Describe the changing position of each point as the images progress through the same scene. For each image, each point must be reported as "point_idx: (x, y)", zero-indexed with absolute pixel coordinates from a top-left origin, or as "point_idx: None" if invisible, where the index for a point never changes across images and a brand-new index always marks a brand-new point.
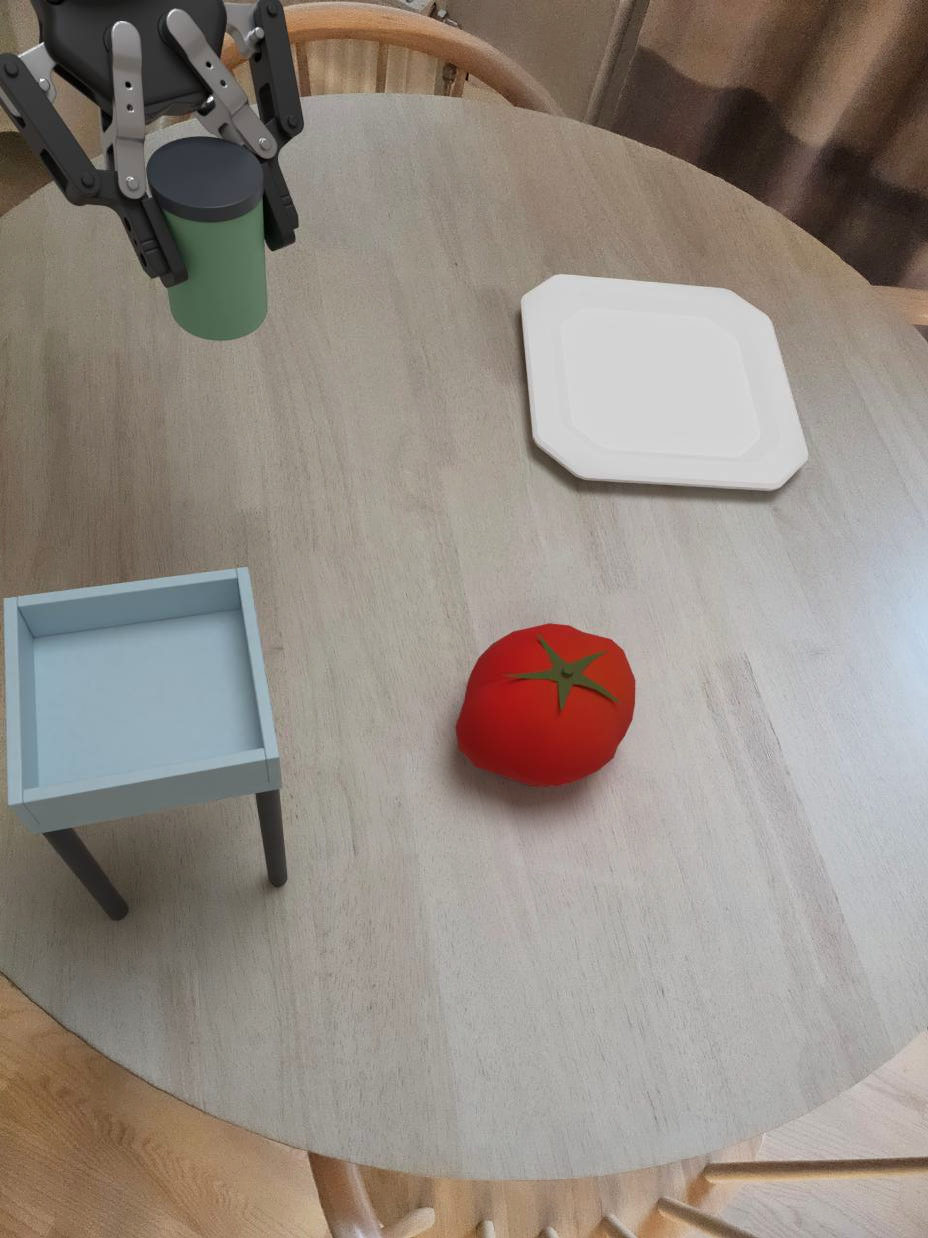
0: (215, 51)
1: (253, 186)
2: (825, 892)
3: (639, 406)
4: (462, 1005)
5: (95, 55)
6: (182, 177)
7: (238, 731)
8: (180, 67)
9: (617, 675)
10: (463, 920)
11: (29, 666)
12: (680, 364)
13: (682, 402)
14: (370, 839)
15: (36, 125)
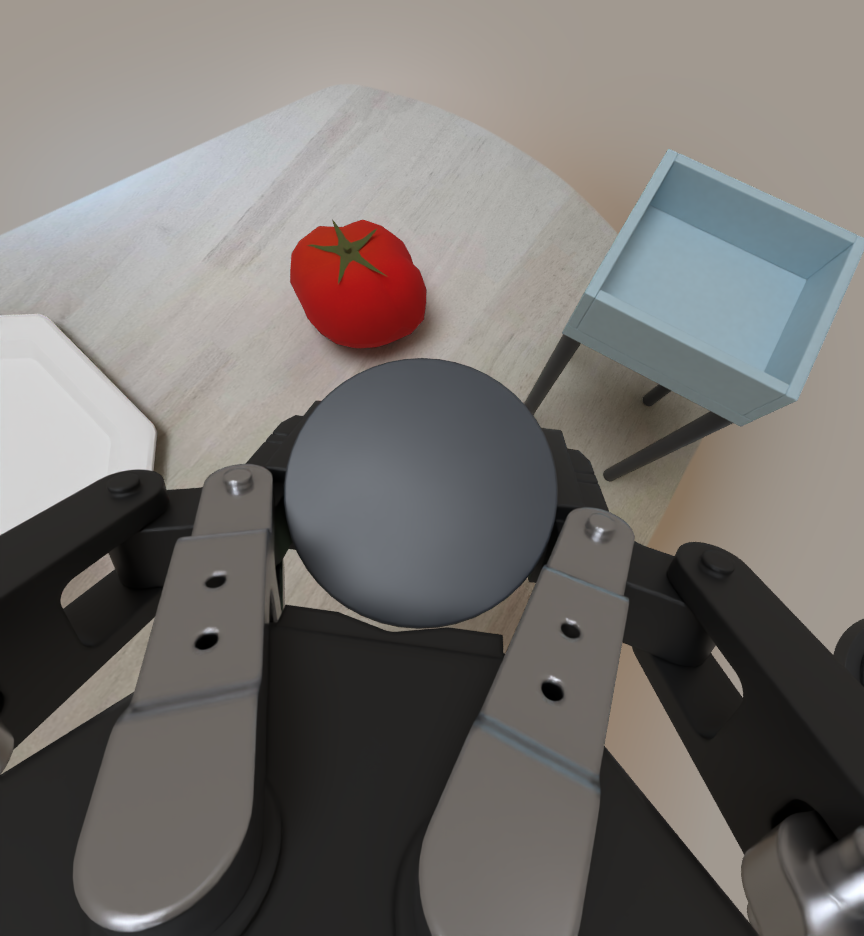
0: (117, 710)
1: (367, 379)
2: (313, 144)
3: (41, 451)
4: (522, 237)
5: (633, 895)
6: (479, 494)
7: (647, 240)
8: (294, 709)
9: (318, 231)
10: (489, 266)
11: (775, 367)
12: None
13: (8, 429)
14: (500, 335)
15: None
